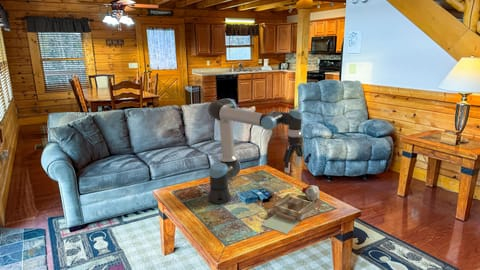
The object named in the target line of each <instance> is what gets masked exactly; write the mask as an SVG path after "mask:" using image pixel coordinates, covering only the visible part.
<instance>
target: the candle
mask: <svg viewBox="0 0 480 270" xmlns="http://www.w3.org/2000/svg"><path fill="white" fill-rule="evenodd" d="M301 193H303V194H304V196H306V199H307V201H308V200H309V201H311V202H313V201H316V200H319V198H320V189H319V187H318V186H317V185H314V184H311V185H307V186H306V187H302V189H301Z"/></svg>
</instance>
